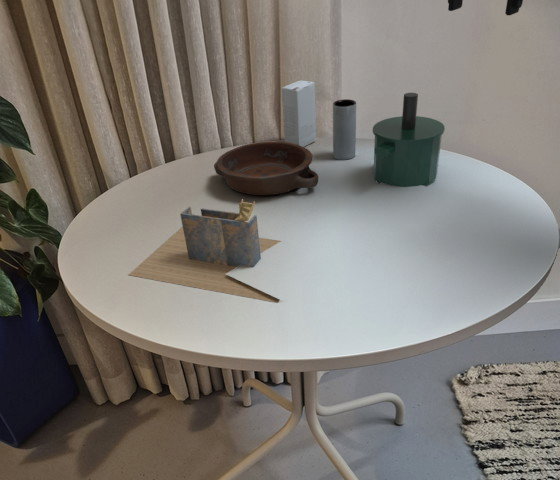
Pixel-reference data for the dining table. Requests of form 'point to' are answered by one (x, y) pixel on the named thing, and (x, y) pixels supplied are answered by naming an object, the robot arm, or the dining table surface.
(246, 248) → the ruin model on sheet
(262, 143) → the dish
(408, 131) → the lid
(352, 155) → the grey cylinder
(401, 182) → the pot
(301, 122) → the cosmetic box
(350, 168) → the dining table surface
